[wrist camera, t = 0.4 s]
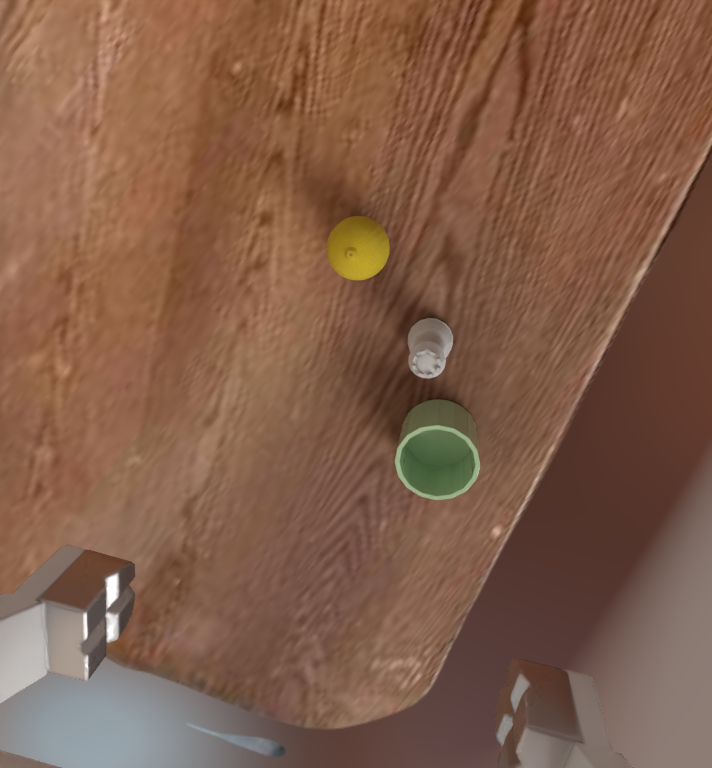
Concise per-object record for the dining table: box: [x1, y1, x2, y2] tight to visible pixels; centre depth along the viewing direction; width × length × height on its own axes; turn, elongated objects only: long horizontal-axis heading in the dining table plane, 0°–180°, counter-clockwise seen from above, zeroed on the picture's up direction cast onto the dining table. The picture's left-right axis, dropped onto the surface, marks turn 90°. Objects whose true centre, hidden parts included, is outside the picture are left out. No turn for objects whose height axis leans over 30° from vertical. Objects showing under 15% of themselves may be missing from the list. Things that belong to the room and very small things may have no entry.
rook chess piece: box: [408, 318, 453, 379], centre depth 53 cm, size 4×4×8 cm
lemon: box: [327, 216, 390, 280], centre depth 51 cm, size 6×6×8 cm
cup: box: [395, 399, 480, 500], centre depth 57 cm, size 8×8×6 cm
